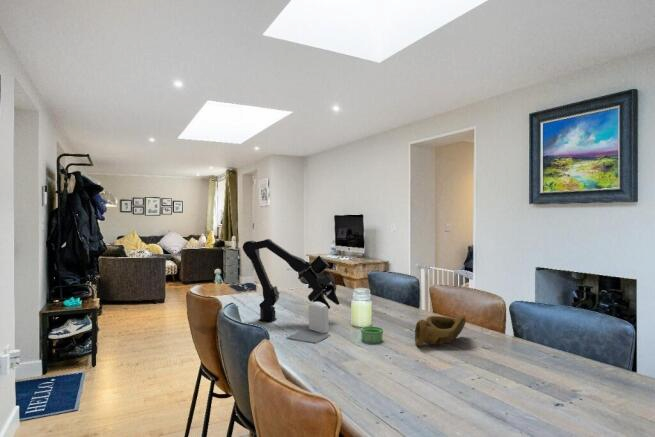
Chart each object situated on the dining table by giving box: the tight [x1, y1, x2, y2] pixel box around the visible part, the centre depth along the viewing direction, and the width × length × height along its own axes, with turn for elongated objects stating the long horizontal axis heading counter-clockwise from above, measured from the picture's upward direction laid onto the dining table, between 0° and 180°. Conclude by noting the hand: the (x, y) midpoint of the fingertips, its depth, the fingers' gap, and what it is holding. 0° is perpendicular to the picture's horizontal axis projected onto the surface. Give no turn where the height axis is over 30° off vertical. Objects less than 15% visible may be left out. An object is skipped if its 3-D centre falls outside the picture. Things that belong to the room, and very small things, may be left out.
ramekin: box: [360, 325, 384, 344], centre depth 158 cm, size 9×9×4 cm
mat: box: [285, 329, 331, 344], centre depth 161 cm, size 14×12×1 cm
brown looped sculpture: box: [414, 315, 467, 348], centre depth 154 cm, size 18×13×22 cm
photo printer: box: [308, 301, 330, 334], centre depth 171 cm, size 10×4×12 cm, turn 39°
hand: (334, 306), depth 180 cm, fingers open, 9 cm apart
